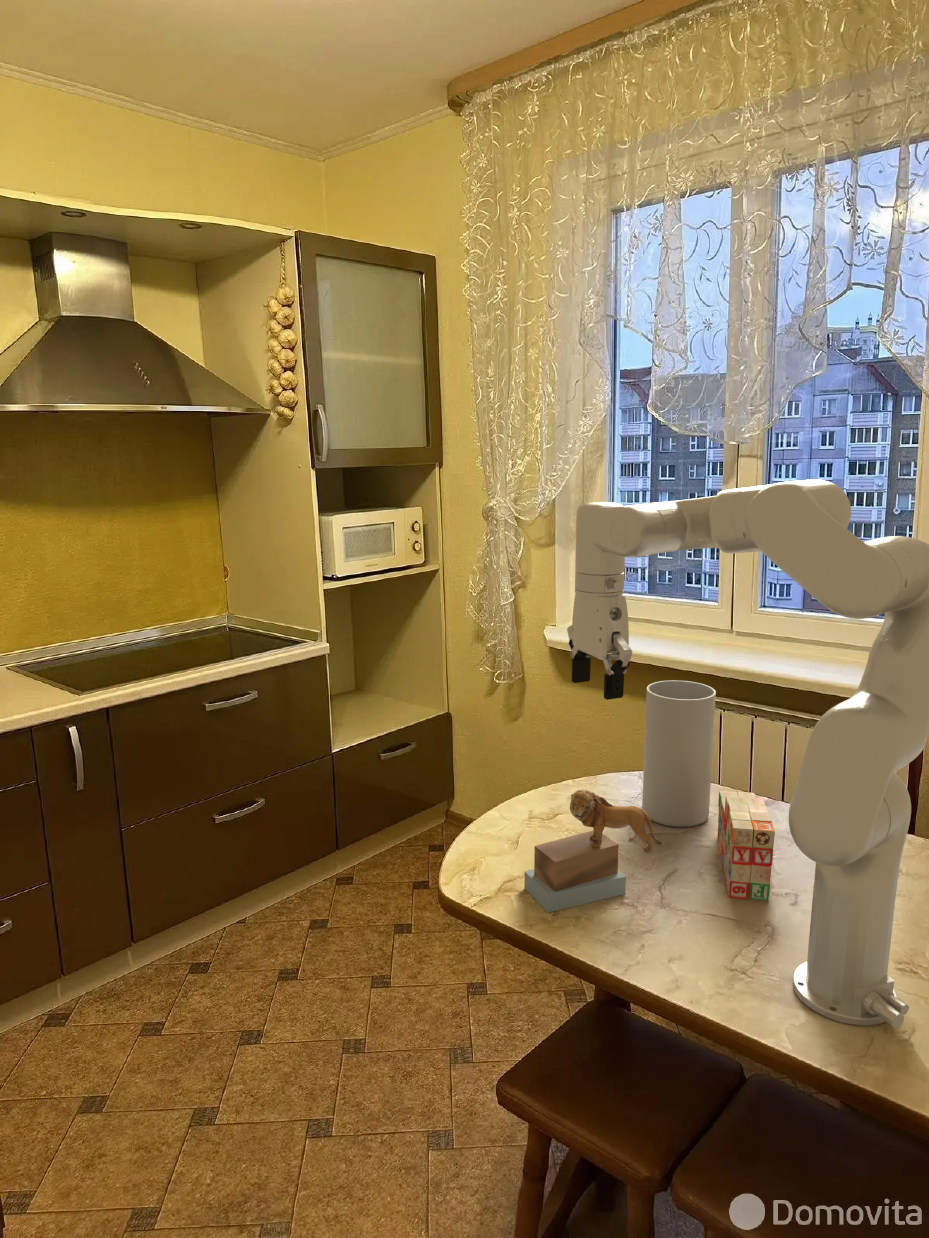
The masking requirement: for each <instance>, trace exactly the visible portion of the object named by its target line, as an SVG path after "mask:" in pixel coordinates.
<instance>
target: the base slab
mask: <svg viewBox="0 0 929 1238" xmlns="http://www.w3.org/2000/svg"><path fill="white" fill-rule="evenodd" d="M626 885H627V875H625V874H624V873H623V872H621V871H620V870H619V869H618V873H616V874H613V875H610V876H606V877H603V878H600V879H596V880H593V881H590V882H586V883H583V884H580V885H576V886H573V887H570V888H566V889H563V890H560V891H556V892H555V891H554V890H552V889H551V888H550V887H549V886H547V885H546V884H545V883H544V882H543V881H541V880H540V879H539V878H538V877H536V876H535V875H534V868H533V869H528V870H525V871H524V889H525V890H526V891H527V892H528V894H530V895H531V897H532V898H533V897H534V898H533V899H534V900H535V901H536V902H537V903H538V904H539V905H540V906H541V907H542V909H544V911H546V912H547V913H552V912H556V911H561V910H564V909H569V908H573V907H577V906H580V905H585V904H589V903H593V902H597V901H601V900H605V899H609V898H613V897H614V898H615V897H617V896H621V895H626V889H627V888H626Z"/></svg>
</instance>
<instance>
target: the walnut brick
mask: <svg viewBox="0 0 929 1238" xmlns="http://www.w3.org/2000/svg"><path fill="white" fill-rule="evenodd" d="M591 835H594V830H589V831H585V832H582V833H577V834H574V835H571V836H566V837H562V838H560V839H555V840H551V841H548V842H544V843H540V844H536V845H534V855H533V856H534V858H533V859H534V861H533V862H534V864H533V865H534V867H533V869H534V875H535V876H536V877H538V878H539V879H540V880H541V881H543V882H544V883H545V884H546V885H547V886H549V887H550V888H551V889H552V890H554V891H555V892H556V891H560V890H563V889H566V888H570V887H573V886H576V885H580V884H583V883H586V882H590V881H593V880H596V879H600V878H603V877H606V876H610V875H613V874H616V873H618V870H619V847H620V846H619V843H618V842H617V841H614V840H613V839H611V838H610V837H609V836H607V835H606V834H604V833H602V843H601V846H600V847H598V848H595V847H593V846H592V843H593V842H596V840H591V839H590V836H591Z"/></svg>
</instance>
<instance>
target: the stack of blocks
mask: <svg viewBox="0 0 929 1238" xmlns="http://www.w3.org/2000/svg"><path fill="white" fill-rule="evenodd" d="M717 807H718V816H717V817H718V820H717V823H718V825H717V841H718V849H719V853H720V859H721V861H722V868H723V870H724V876H725V885H726V890H727V897H728V898H730V899H731V898H732V899H743V900H754V901H755V900H756V901H765V902H769V900H770V892H771V876H772V875H771V874H772V866H773V860H774V856H773V855H774V846H775V845H774V844H775V835H776V831H775V828H774V825H773V821H772V817H771V815H770V812H769V809H768V807H767V806H766V803H765V800H764V798H763V797H756V794H755V793H754V792H746V791H729V790H719V791H718V806H717Z"/></svg>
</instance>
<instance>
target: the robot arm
mask: <svg viewBox="0 0 929 1238" xmlns="http://www.w3.org/2000/svg"><path fill="white" fill-rule="evenodd" d="M851 505H852V504H851V503H850V500H849V497H848V496H847V494H846V493H845V491H844V490H843V489H842V488H841V487H840V486H838V485H837V484H836V483H833V482H831V481H828V480H823V479H813V478H810V479H805V480H804V479H803V480H791V481H783V482H777V483H772V484H771V483H770V484H765V485H756V486H750V487H749V486H748V487H740V488H732V489H731V488H730V489H725V490H720V491H719V492H717V494H716V495H712V496H705V497H698V498H697V497H696V498H690V499H682V500H670V501H660V502H659V501H658V502H646V503H640V504H639V503H638V504H632V505H631V504H630V505H623V504H621V503H618V502H610V501H592V502H585V503H582V504H580V505H579V506H578V508H577V510H576V515H575V516H576V517H575V524H576V525H575V568H574V569H575V570H574V571H575V574H574V593H575V594H574V600H573V610H572V621H571V625H570V626H568V627H567V628H566V630H567V635H568V646H569V647H570V658H571V682H572V683H573V684H578V683H585V682H590V680H591V668H592V667H591V662H592V661H591V656H592V657H594V658H596V659H598V660H602V662H603V664H604V668H605V671H606V673H604V675H603V678H604V680H603V699H604V700H607V701H608V700H616V699H622V698H623V697H624V692H625V691H624V687H625V686H624V685H625V674H626V673H627V669H628V668H629V666H630V661H631V657H632V656H633V650H632V648H631V647H630V640H629V639H630V631H629V610H628V604H627V597H626V594H624V593H625V573H626V572H625V567H626V565H625V564H626V563H625V562H626V558H639V557H647V556H650V555H656V554H657V555H658V554H662V553H663V554H664V553H669V552H679V551H688V550H699V549H700V550H701V549H702V550H703V549H718V550H719V551H721V552H722V553H725V554H741V553H742V554H744V553H755V552H756V553H758V552H759V553H760V552H762V553H763V554H764V556H766V557H767V558H768V559H769V560H770V561H771V562H772V563H773V564H774V565H776V566H777V567H778V568H779V569H780V570H781V571H783V573H785V574H786V575H787V576H788V577H789V578H791V579H792V580H793V582H795V583H796V584H797V585H799V586H800V587H801V588H802V589H804V591H806V592H807V593H808V594H809V595H810V596H811V597H812V598H814V599H815V600H816V601H817V603H818V602H819V603H820V604H821V605H822V606H824V607H825V608H826V609H828V610H829V611H831V612H832V613H834V614H836V615H838V616H841V617H844V618H848V619H853V620H865V619H870V618H875V617H877V616H880V615H882V614H884V620H883V622H882V625H881V627H880V629H879V631H878V633H877V635H876V637H875V639H874V641H873V643H872V645H871V648H870V650H869V653H868V656H867V657H868V658H867V661H866V664H865V668H864V672H863V674H862V676H861V679H860V682H859V685H858V687H857V689H856V691H855V693H854V694H853V695H851V696H850V697H849V698H848V699H846V700H844V701H842V702H840V703H837V704H836V705H834V706H832V707H831V708H830V709H828V710H827V711H826V712H825V713H823V714H822V715H821V717H820V718H819V719H818V721H817V722H816V724H815V725H814V727H813V730H812V732H811V733H810V736H809V738H808V741H807V745H806V748H805V752H804V755H803V759H802V762H801V764H800V765H801V766H800V769H799V772H798V775H797V778H796V779H797V780H796V783H795V785H794V788H793V793H792V796H791V799H790V803H789V809H788V827H789V830H790V831H789V832H790V835H791V837H792V839H793V841H794V843H795V845H796V847H797V848H798V849H799V851H801V853H802V854H803V855H805V856H806V857H807V858H808V859H810V860H812V861H813V862H815V867H814V876H813V889H812V890H813V891H812V899H811V900H812V902H811V911H810V912H811V913H810V914H811V915H810V924H809V935H808V945H807V946H808V947H807V959H806V960H807V961H805V962H803V963H801V964H800V965H798V966H797V967H796V968H795V970H794V972H793V974H792V987H793V991H794V992H795V994H796V996H797V997H798V998H799V999H800V1001H801V1002H802V1003H804V1005H806V1006H807V1007H808V1008H810V1009H811V1010H813V1011H814V1012H816V1013H817V1014H820V1015H821V1016H823V1017H825V1018H828V1019H831V1020H833V1021H836V1022H839V1023H843V1024H849V1025H854V1026H875V1025H879V1024H883V1023H887V1025H889V1026H891V1027H892V1028H894V1029H898V1028H900V1027H901V1026H902V1025H903V1023H904V1019H905V1018H904V1015H906V1014H908V1012H909V1009H910V1006H909V1005H908V1004H907V1003H906V1002H904V1001H902V1000H901V999H900V998H898V994H897V991H896V990H895V989H894V987H895V986H894V985H895V980H894V978H891V977H890V976H889V975H888V972H889V971H888V969H889V961H890V952H891V942H892V941H891V940H892V934H893V923H894V915H895V907H896V906H895V904H896V897H897V892H898V891H897V889H898V880H899V874H900V867H901V862H902V861H901V860H902V857H903V856H902V855H903V853H904V852H903V851H904V847H905V844H906V840H907V836H908V831H909V826H910V824H911V823H910V822H911V815H912V803H911V802H912V801H911V796H910V793H909V790H908V788H907V786H906V784H905V783H904V781H903V780H902V779H901V777H900V776H899V775H898V774H897V773H896V772H898V771H899V770H900V769H902V768H905V767H906V766H907V765H908V764H910V763H911V762H913V761H914V760H915V759H916V758H917V757H918V756H919V755H920V754H921V753H922V752H923V750H924V749H925V746H926V744H927V741H928V738H929V543H928V542H925V541H922V540H919V539H918V538H915V537H910V536H903V535H894V536H892V535H890V536H884V537H879V538H874V539H869V540H867V541H866V540H865V541H863V540H862V539H860V538H859V537H858V536H856V535H855V534H854V533H852V532H851V531H850V530H849V529H848V527H849V524H850V522H851V518H852V516H851V515H852V506H851ZM612 661H615V662H614V663H612Z"/></svg>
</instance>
